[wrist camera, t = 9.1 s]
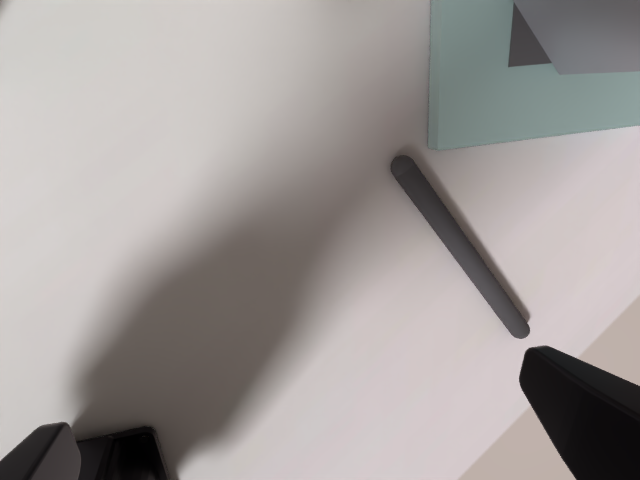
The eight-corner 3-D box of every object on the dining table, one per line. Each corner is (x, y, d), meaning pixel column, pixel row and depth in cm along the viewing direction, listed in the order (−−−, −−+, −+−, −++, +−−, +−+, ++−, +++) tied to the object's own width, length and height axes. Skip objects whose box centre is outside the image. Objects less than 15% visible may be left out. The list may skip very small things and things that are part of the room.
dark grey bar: (524, 323, 27) (537, 333, 25) (509, 335, 27) (522, 345, 26) (400, 148, 20) (410, 152, 19) (382, 164, 20) (391, 169, 19)
